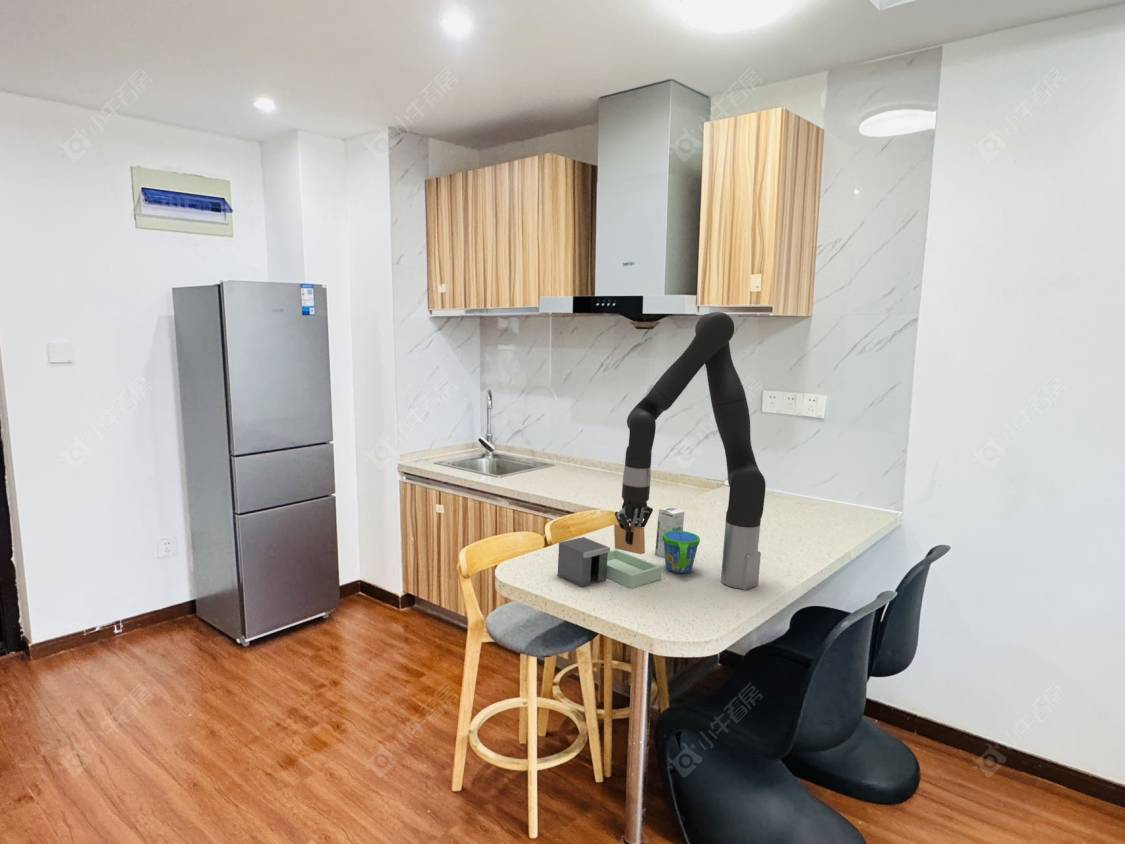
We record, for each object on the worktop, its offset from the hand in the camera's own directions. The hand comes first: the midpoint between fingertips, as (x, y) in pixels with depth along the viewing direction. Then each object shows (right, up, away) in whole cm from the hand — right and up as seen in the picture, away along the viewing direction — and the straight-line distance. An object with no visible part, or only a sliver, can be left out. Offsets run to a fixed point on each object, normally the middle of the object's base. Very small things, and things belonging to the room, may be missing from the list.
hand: (631, 543), depth 185 cm
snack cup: (+14, -9, +9) cm, 19 cm away
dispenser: (-14, -9, -1) cm, 17 cm away
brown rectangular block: (-1, -2, +1) cm, 2 cm away
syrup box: (+13, -8, +21) cm, 26 cm away
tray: (-2, -9, +3) cm, 10 cm away
